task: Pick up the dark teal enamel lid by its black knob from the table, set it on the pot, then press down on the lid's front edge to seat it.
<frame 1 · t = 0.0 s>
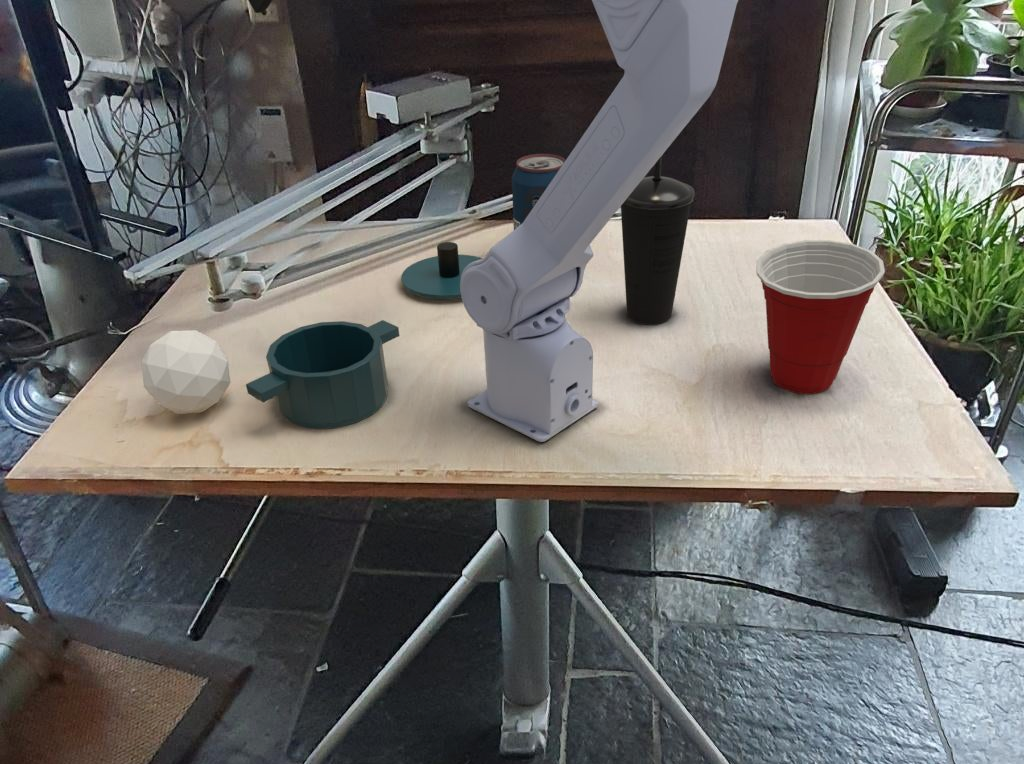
drinking cup: (648, 315, 97), on the table
plastic cup: (798, 381, 85), on the table
lid: (449, 277, 105), point 1 cm above the table
ball: (196, 407, 85), on the table
soda can: (542, 260, 110), on the table
pot: (333, 398, 85), on the table
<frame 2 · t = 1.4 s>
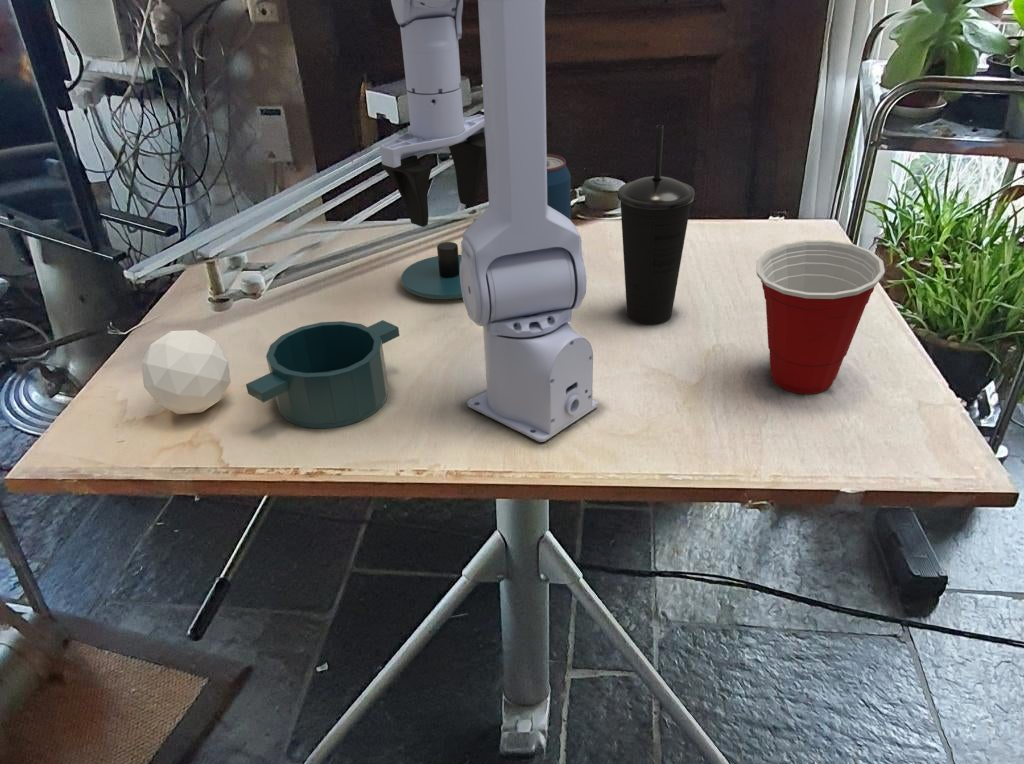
hand: (444, 214, 101), 8 cm above the table, tool pointing down, fingers open, 7 cm apart
nothing on the table moved.
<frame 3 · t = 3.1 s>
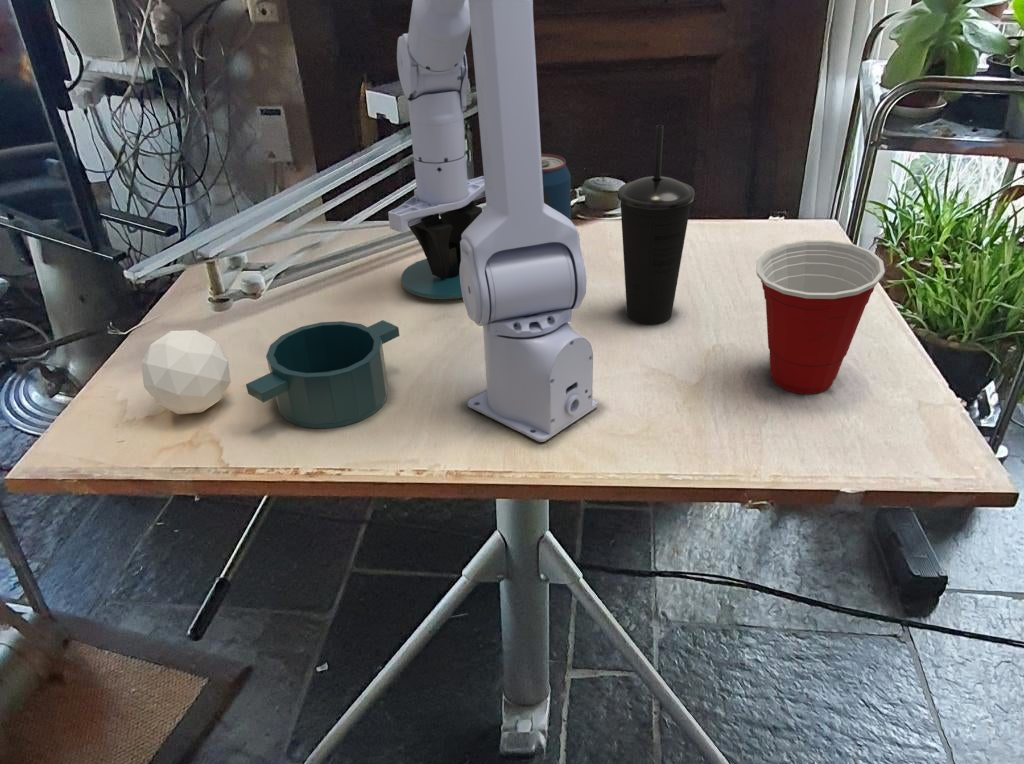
hand: (449, 271, 105), 1 cm above the table, tool pointing down, fingers closed on lid, 2 cm apart
lid: (449, 277, 105), point 1 cm above the table, touching gripper
everything else where it was.
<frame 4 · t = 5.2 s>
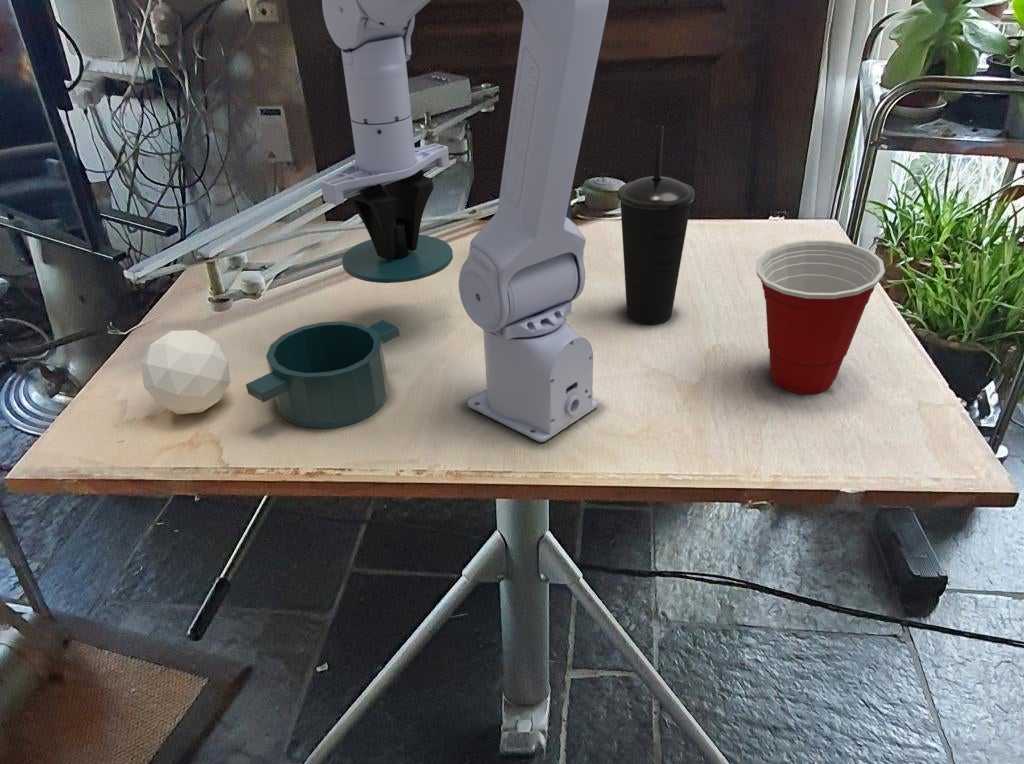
hand: (397, 252, 92), 9 cm above the table, tool pointing down, fingers closed on lid, 2 cm apart
lid: (398, 259, 92), point 8 cm above the table, touching gripper
everything else where it was.
when the fingers open (6 cm above the table, at t = 7.6 s): lid stays where it is, resting on pot.
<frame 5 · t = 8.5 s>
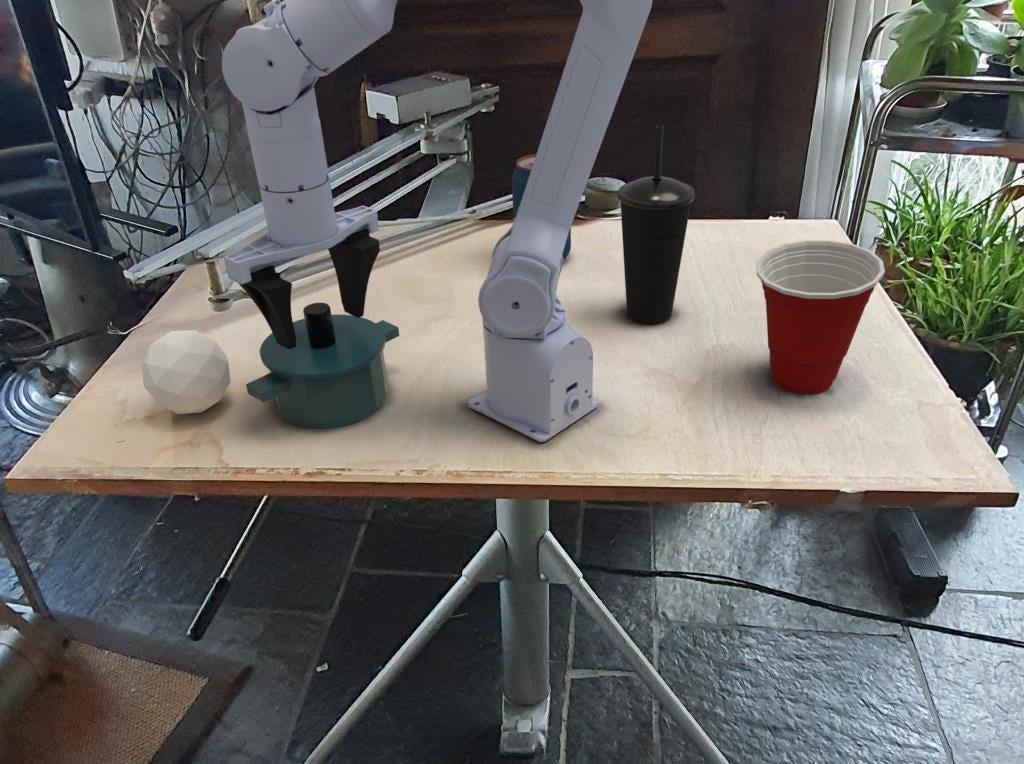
hand: (321, 328, 81), 7 cm above the table, tool pointing down, fingers open, 7 cm apart
lid: (323, 347, 82), point 5 cm above the table, touching pot
everything else where it was.
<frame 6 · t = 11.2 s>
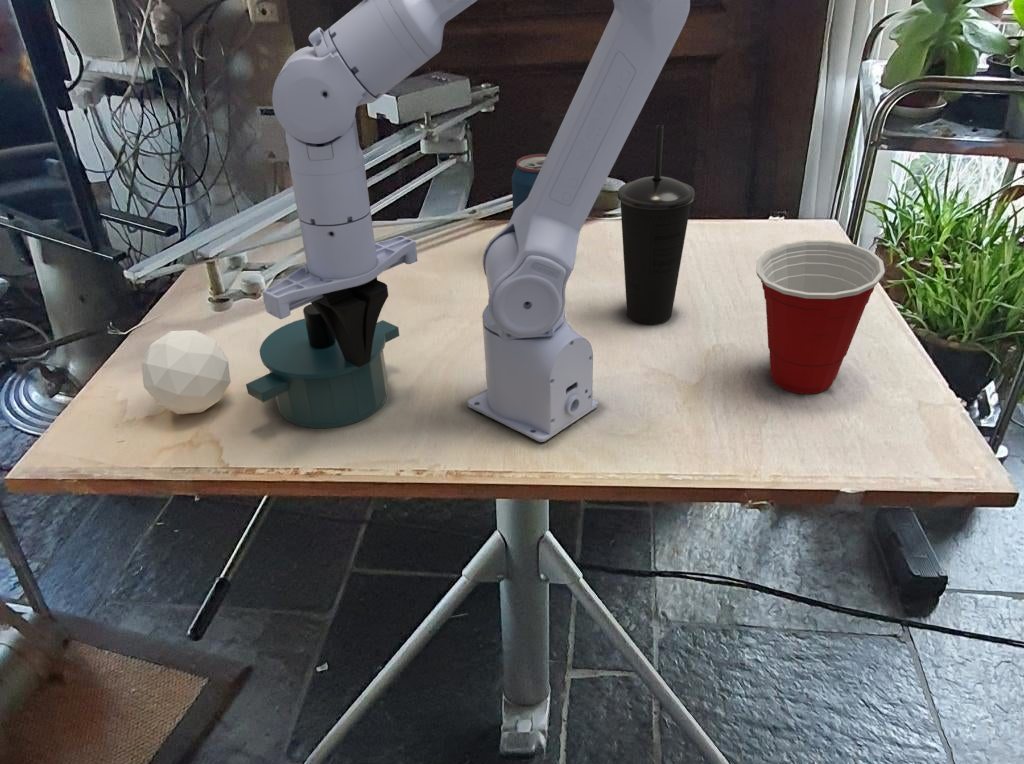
hand: (357, 361, 79), 6 cm above the table, tool pointing down, fingers closed, pressing on lid
lid: (323, 347, 82), point 6 cm above the table, touching gripper, pot
everything else where it was.
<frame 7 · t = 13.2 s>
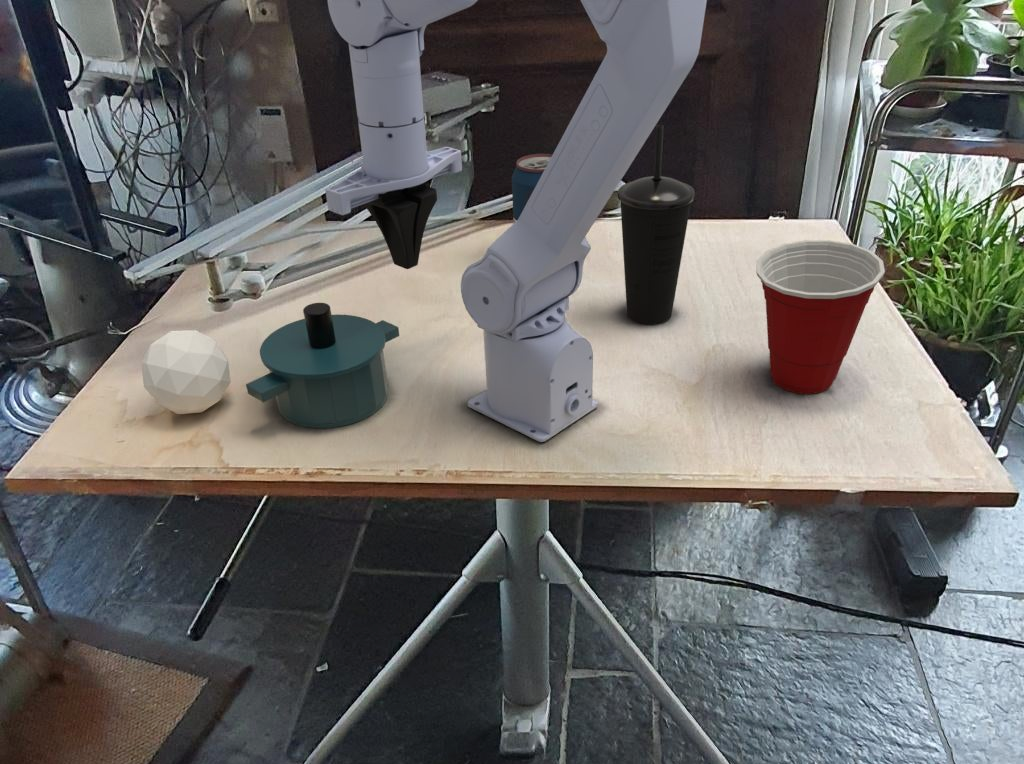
hand: (405, 264, 85), 10 cm above the table, tool pointing down, fingers closed
lid: (323, 347, 82), point 5 cm above the table, touching pot
everything else where it was.
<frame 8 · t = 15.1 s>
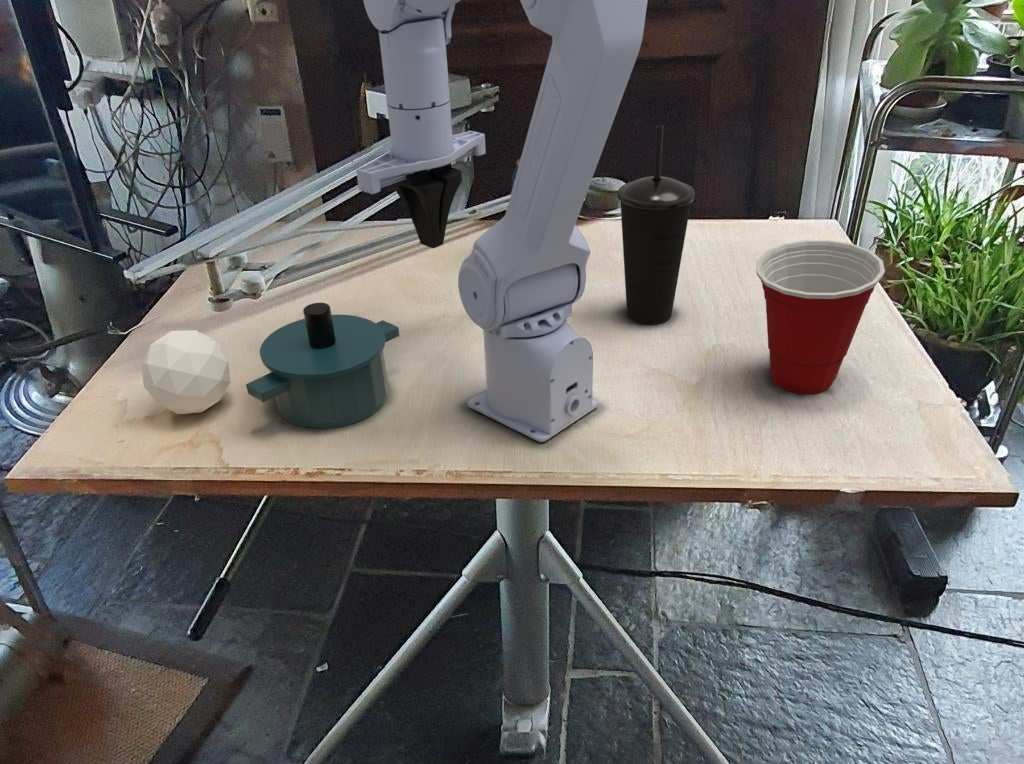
hand: (431, 244, 88), 10 cm above the table, tool pointing down, fingers closed
nothing on the table moved.
at the end: lid 0.1 cm off-centre on the pot, point 5.5 cm above the pot's base; lid tilted 0° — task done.
